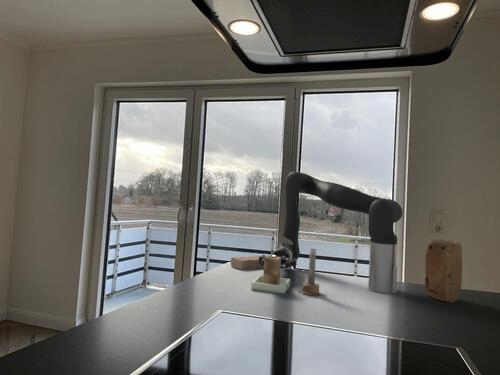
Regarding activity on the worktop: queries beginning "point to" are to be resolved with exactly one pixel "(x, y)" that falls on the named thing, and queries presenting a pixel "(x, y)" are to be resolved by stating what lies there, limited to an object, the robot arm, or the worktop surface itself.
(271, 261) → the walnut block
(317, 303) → the worktop surface
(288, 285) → the tray
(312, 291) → the stand
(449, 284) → the block
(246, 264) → the brick
